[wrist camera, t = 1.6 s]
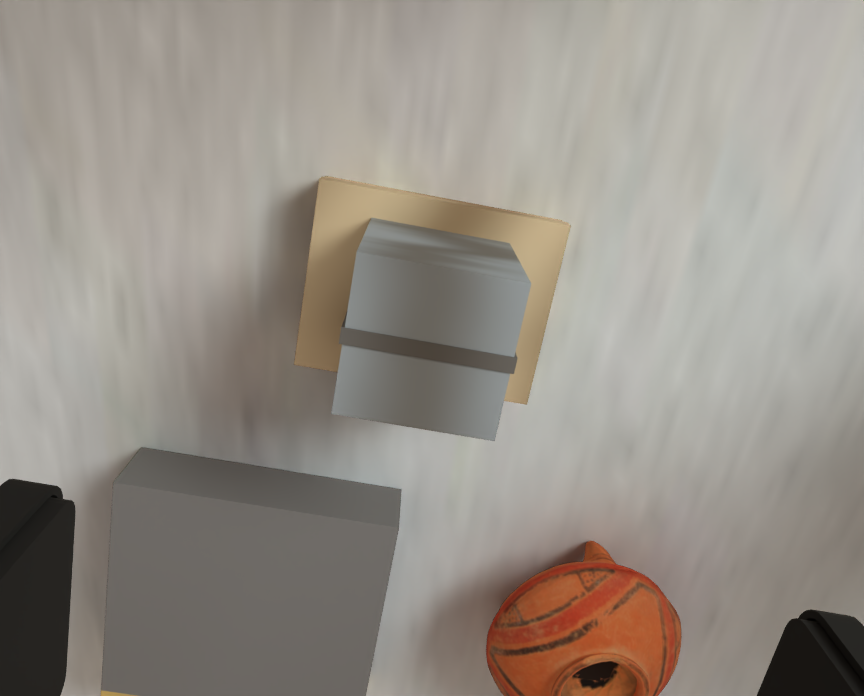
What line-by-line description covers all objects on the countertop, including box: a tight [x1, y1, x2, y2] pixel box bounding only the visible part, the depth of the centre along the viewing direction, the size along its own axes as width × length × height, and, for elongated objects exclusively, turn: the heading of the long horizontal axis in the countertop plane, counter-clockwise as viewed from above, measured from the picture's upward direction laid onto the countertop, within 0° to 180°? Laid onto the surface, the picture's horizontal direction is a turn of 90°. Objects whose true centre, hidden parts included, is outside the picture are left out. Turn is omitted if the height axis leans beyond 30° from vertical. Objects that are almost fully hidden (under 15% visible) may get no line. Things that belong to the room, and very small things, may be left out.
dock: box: [101, 447, 401, 696], centre depth 32 cm, size 11×11×3 cm
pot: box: [486, 541, 681, 696], centre depth 32 cm, size 8×8×7 cm
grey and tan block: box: [294, 176, 571, 441], centre depth 26 cm, size 9×7×8 cm
